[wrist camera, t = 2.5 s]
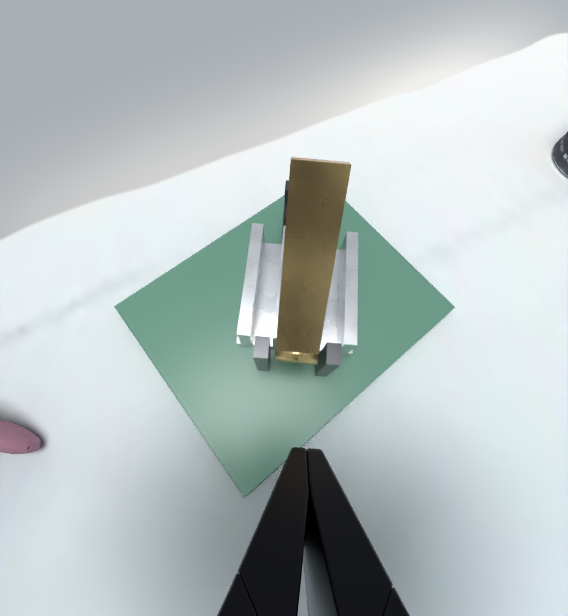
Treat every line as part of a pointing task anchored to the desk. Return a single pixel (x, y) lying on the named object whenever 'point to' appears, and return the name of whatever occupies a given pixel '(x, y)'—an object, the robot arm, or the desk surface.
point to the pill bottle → (562, 154)
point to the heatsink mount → (266, 295)
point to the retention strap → (309, 255)
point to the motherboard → (282, 375)
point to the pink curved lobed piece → (17, 439)
